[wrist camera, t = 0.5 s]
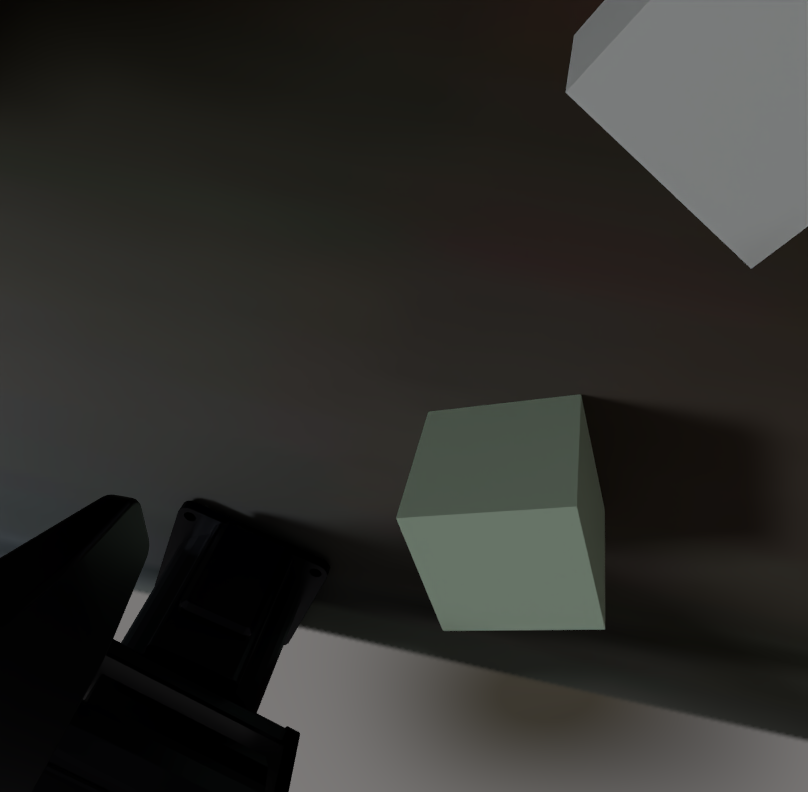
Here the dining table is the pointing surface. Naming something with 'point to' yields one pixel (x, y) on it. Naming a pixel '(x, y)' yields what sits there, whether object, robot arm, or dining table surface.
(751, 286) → the dining table surface
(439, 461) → the sage cube
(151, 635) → the robot arm
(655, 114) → the grey cube
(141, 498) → the dining table surface
